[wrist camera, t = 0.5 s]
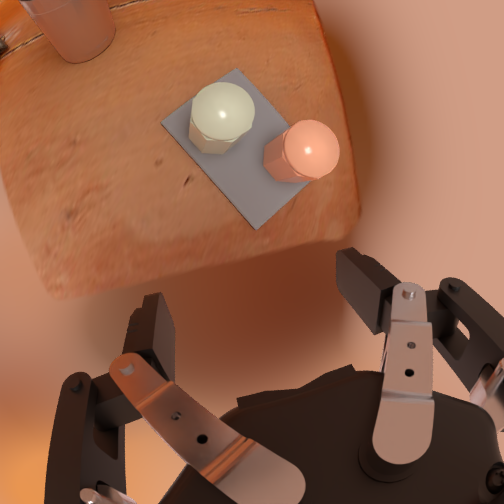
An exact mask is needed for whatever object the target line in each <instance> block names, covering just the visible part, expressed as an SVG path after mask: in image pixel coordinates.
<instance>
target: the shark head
mask: <svg viewBox="0 0 504 504" xmlns="http://www.w3.org/2000/svg"><path fill="white" fill-rule="evenodd" d="M4 37H5V36H2V37H1V38H0V53H1V52H3V51H5V50H6V49H7V48H8V46H7V45H6V44H5V42H4Z"/></svg>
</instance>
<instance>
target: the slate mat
mask: <svg viewBox="0 0 504 504" xmlns="http://www.w3.org/2000/svg"><path fill="white" fill-rule="evenodd" d="M218 82H227V83H232V84H235V85H237V86H239V87H241V88H243V89H244V90H245V91H246V92H247V93H248V94H249V95H250V97H251V98H252V101H253V103H254V107H255V115H254V119H253V122H252V128H251V129H250V130H249V131H248V132H247V133H246V134H245V135H244V136H243V138H242V139H241V140H240V141H239V142H238V143H237V144H235V145H234V146H233V147H232V148H230V149H229V150H228V151H227V152H225V153H224V154H223V155H221V154H207V153H201V151H200V150H199V149H198V148H197V147H196V146H195V145H194V144H193V142H192V141H191V140H190V139H189V127H190V118H191V110H192V101H193V98H195V97H196V95H195V96H194V97H193V98H191V99H190V100H189V101H187V102H186V103H185V104H183V105H182V106H181V107H179V108H178V109H177V110H175V111H174V112H173V113H172V114H170V115H169V116H168V117H167V118H165V119H164V120H163V121H162V122H161V124H162V125H163V126H164V128H165V129H166V130H167V131H168V132H169V133H170V134H171V135H172V136H173V138H174V139H175V140H176V141H177V142H178V143H179V144H180V145H181V146H182V148H183V149H184V150H185V151H186V152H187V153H188V154H189V155H190V156H191V158H192V159H193V160H194V161H195V162H196V163H197V164H198V165H199V167H200V168H201V169H202V170H203V171H204V172H205V173H206V174H207V176H208V177H209V178H210V179H211V180H212V181H213V182H214V184H215V185H216V186H217V187H218V188H219V189H220V190H221V191H222V193H223V194H224V195H225V196H226V197H227V198H228V199H229V201H230V202H231V203H232V204H233V205H234V206H235V207H236V209H237V210H238V211H239V212H240V213H241V214H242V215H243V217H244V218H245V219H246V220H247V221H248V222H249V224H250V225H251V226H252V227H253V228H254V229H255V230H257V229H258V228H259V227H261V226H262V225H263V224H264V223H265V222H266V221H267V220H268V219H269V218H270V217H272V216H273V215H274V214H275V213H276V212H277V211H278V210H279V209H280V208H281V207H283V206H284V205H285V204H286V203H287V202H288V201H289V200H290V199H291V198H292V197H294V196H295V195H296V194H297V193H298V192H299V191H300V190H301V189H302V188H304V187H305V186H306V185H307V184H308V183H309V182H310V181H311V180H310V181H304V182H298V183H290V182H281V181H275V179H274V178H273V177H272V176H271V175H270V173H269V172H268V171H267V170H266V169H265V167H264V166H263V159H264V146H265V145H267V144H268V143H269V142H270V141H272V140H273V139H274V138H275V137H277V136H278V135H279V134H281V133H282V132H284V131H285V130H286V129H288V128H289V127H290V126H289V125H288V124H287V122H286V121H285V120H284V119H283V118H282V117H281V115H280V114H279V113H278V112H277V111H276V110H275V108H274V107H273V106H272V105H271V104H270V103H269V102H268V100H267V99H266V98H265V97H264V96H263V95H262V94H261V93H260V92H259V91H258V89H257V88H256V87H255V86H254V85H253V84H252V83H251V82H250V81H249V80H248V79H247V78H246V77H245V76H244V75H243V74H242V72H241V71H240V70H239V69H238V68H236V69H234V70H232V71H231V72H229V73H228V74H226V75H225V76H223V77H222V78H220V79H219V80H217V81H216V82H214V83H218Z"/></svg>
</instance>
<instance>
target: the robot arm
mask: <svg viewBox="0 0 504 504" xmlns="http://www.w3.org/2000/svg"><path fill="white" fill-rule="evenodd" d="M19 2H20V3H21V5H22V6H23V7H24V9H25V10H26V11H27V12H28V14H29V15H30V16H31V18H32V19H33V20H34V22H35V23H36V24H37V26H38V27H39V28H40V29H41V31H42V32H43V33H44V35H45V36H46V37H47V39H48V40H49V41H50V42H51V44H52V45H53V46H54V48H55V49H56V50H57V52H58V53H59V54H60V55H61V56H62V58H63V59H64V60H65V61H67V62H70V63H81V62H85V61H88V60H90V59H92V58H94V57H96V56H97V55H99V54H100V53H102V52H103V51H104V50H105V49H106V48H107V47H108V46H109V44H110V43H111V41H112V40H113V38H114V35H115V25H114V22H113V19H112V16H111V12H110V9H109V6H108V3H107V0H19ZM336 282H337V286H338V289H339V291H340V292H341V294H342V295H343V296H344V298H345V299H346V300H347V301H348V303H349V304H350V305H351V306H352V308H353V309H354V310H355V311H356V313H357V314H358V315H359V316H360V318H361V319H362V320H363V321H364V323H365V324H366V325H367V326H368V328H369V329H370V330H371V332H372V333H373V334H374V335H376V334H378V333H381V332H384V333H385V334H386V335H385V340H384V346H383V353H382V359H381V365H380V371H379V372H376V371H355V369H354V368H353V366H352V364H350V365H347V366H345V367H342V368H339V369H337V370H333V371H330V372H328V373H325V374H323V375H322V376H320V377H318V378H317V379H315V380H313V381H311V382H310V383H308V384H306V385H304V386H303V387H301V388H298V389H289V390H274V391H264V392H260V393H256V394H252V395H248V396H243V397H239V398H237V402H238V407H236V408H233V409H232V410H230V411H228V412H227V413H226V414H224V415H223V416H221V417H220V418H219V419H218V418H217V417H216V416H214V415H213V414H211V413H210V412H209V411H208V410H207V409H205V408H204V407H203V406H201V405H200V404H199V403H197V401H195V400H194V399H193V398H192V397H190V396H189V395H188V394H187V393H186V392H184V391H183V390H182V389H181V388H180V387H179V386H178V385H176V384H175V327H174V323H173V320H172V317H171V315H170V312H169V310H168V307H167V305H166V302H165V299H164V297H163V295H162V293H161V292H159V293H154V294H149V295H145V296H144V300H143V305H142V308H137V309H136V310H135V311H134V312H133V314H132V315H131V316H130V321H129V326H128V329H127V334H126V338H125V343H124V347H123V352H122V355H120V356H119V357H117V358H116V359H115V360H114V361H113V362H112V363H111V365H110V368H109V372H108V373H106V374H104V375H101V376H99V377H96V378H94V379H91V377H90V376H89V375H88V374H87V373H85V372H77V373H74V374H72V375H70V376H69V377H68V378H67V379H66V380H65V381H64V383H63V385H62V388H61V392H60V397H59V401H58V405H57V410H56V415H55V419H54V425H53V430H52V436H51V441H50V448H49V456H48V463H47V472H46V483H45V499H44V504H137V503H136V502H135V501H134V500H133V499H132V498H130V497H128V496H127V495H126V477H125V424H127V423H130V422H133V421H135V420H138V419H140V418H143V419H144V420H145V421H146V422H147V423H148V424H149V425H150V426H151V427H152V429H154V431H155V432H156V433H157V434H158V435H159V436H160V437H161V438H162V439H163V440H164V441H165V442H166V443H167V444H168V446H170V448H171V449H172V450H173V451H174V452H175V453H177V455H178V456H180V457H181V458H182V459H183V460H184V461H185V462H186V463H187V464H186V466H185V467H184V469H183V470H182V471H181V473H180V474H179V476H178V477H177V479H176V480H175V482H174V483H173V484H172V486H171V487H170V488H169V490H168V491H167V492H166V494H165V495H164V497H163V498H162V499H161V501H160V502H159V503H158V504H504V462H503V460H502V457H501V454H500V451H499V447H498V441H497V434H498V433H499V432H504V317H503V316H501V315H500V314H499V313H498V312H497V311H496V310H495V309H494V308H493V307H492V306H491V305H490V304H489V303H487V302H486V301H485V300H484V299H483V298H482V297H481V296H480V295H479V294H477V293H476V292H475V291H474V290H473V289H471V288H470V287H469V286H468V285H467V284H466V283H465V282H463V281H462V280H460V279H457V278H451V277H449V278H445V279H443V280H442V281H441V282H440V285H439V289H438V290H430V291H424V289H423V288H422V287H421V286H419V285H418V284H415V283H411V282H403V283H402V282H401V281H399V280H398V279H397V278H396V277H395V276H394V275H393V274H391V273H390V272H389V271H388V270H387V269H385V267H383V266H382V265H380V263H379V262H377V261H376V260H375V259H374V258H372V257H369V256H367V255H362V254H360V253H359V252H358V251H357V250H356V249H355V248H353V247H351V248H347V249H343V250H339V251H337V253H336ZM459 320H460V321H461V322H462V323H463V324H464V325H465V327H466V328H467V329H468V331H469V333H470V338H469V340H468V339H467V337H466V336H465V335H464V334H463V333H462V332H461V331H460V330H459V329H458V328H457V325H458V322H459ZM433 345H434V347H435V348H436V349H437V350H438V352H439V353H440V354H441V355H442V357H443V358H444V359H445V360H446V362H447V363H448V364H449V366H450V367H451V368H452V369H453V371H454V372H455V373H456V375H457V376H458V377H459V378H460V380H461V382H462V383H463V384H464V385H465V387H466V388H467V390H468V391H469V393H470V401H471V403H470V402H467V401H464V400H460V399H457V398H454V397H451V396H448V395H445V394H442V393H439V392H436V391H433V390H432V382H433Z"/></svg>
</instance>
